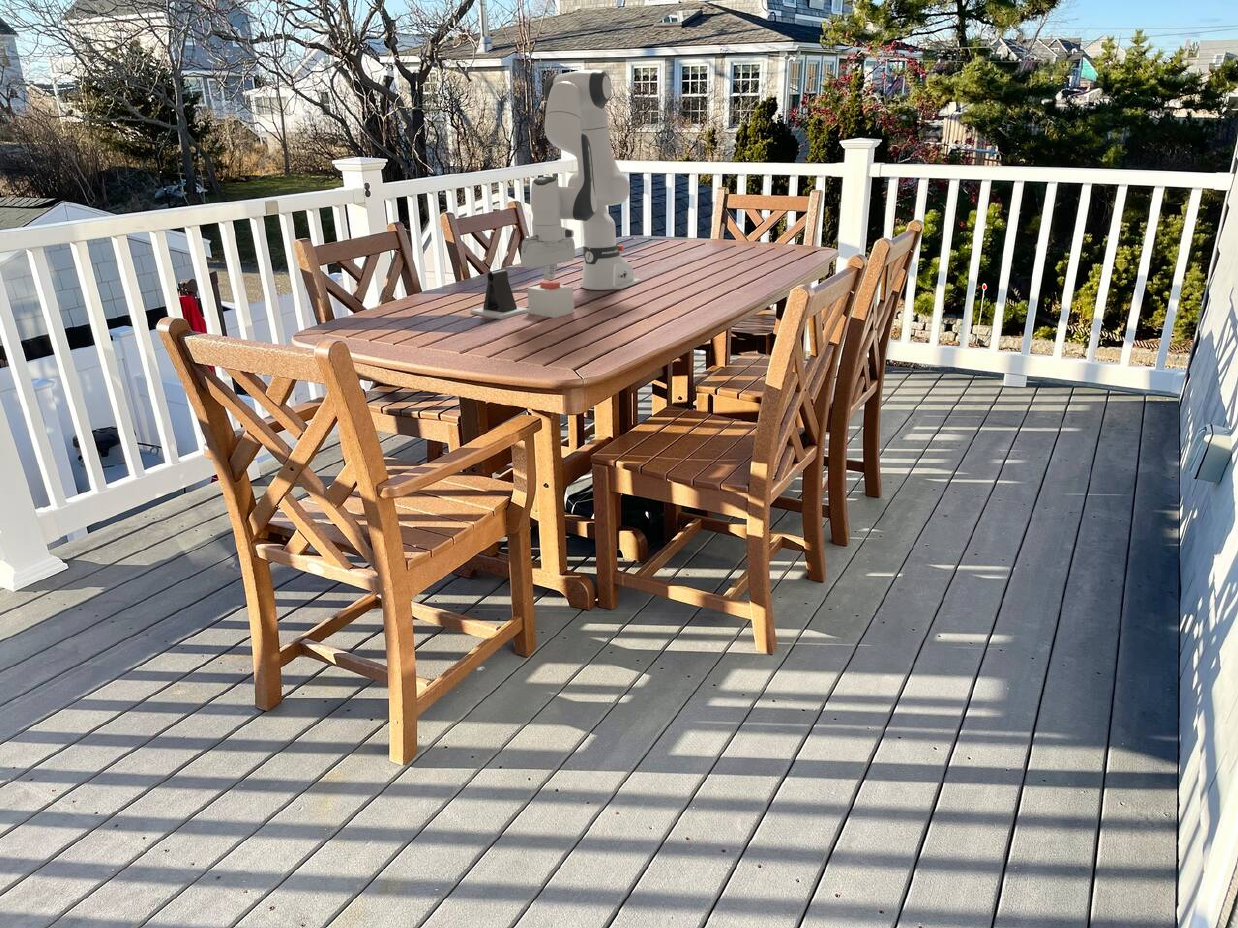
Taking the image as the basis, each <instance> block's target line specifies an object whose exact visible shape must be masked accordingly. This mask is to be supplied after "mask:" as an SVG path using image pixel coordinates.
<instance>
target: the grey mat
mask: <svg viewBox="0 0 1238 928" xmlns="http://www.w3.org/2000/svg"><path fill="white" fill-rule="evenodd" d="M483 307H484V306H481V307H478V308H474V309H473V308H472V309H470V314H473V315H478V316H482V317H487V318H494V319H498V320H503V319H507V318H511V317H514V316H518V315H522V314H523V315H524V314H525V313H526V314H527V313H529V307H528V308H527V307H522V306H517V309H515V310H511V311H507V312H504V313H502V312H496V311H490V310H484V309H483Z"/></svg>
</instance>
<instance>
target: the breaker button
mask: <svg viewBox="0 0 1238 928" xmlns="http://www.w3.org/2000/svg"><path fill="white" fill-rule="evenodd" d="M539 285H540V288H545V289H551V290H553V289H557V288H560V285H561V282H560V281H559V282H558V281H552V280H544V281H541V282H540V284H539Z"/></svg>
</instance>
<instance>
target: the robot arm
mask: <svg viewBox="0 0 1238 928" xmlns="http://www.w3.org/2000/svg"><path fill="white" fill-rule="evenodd" d="M543 96H544V101H545V102H546V106H545V107H546V108H545V113H544V115H545V116H544V135H545V136H546V139H547V140H548V142H549V143H550V144H552V146H553V147H555V148H557V149H558V150H561V151H562V152H566V153H567V154H571V155H573V156H574V157H575V158H576V161H577V172H574V173H573V174H572V175H571V176H570V177H569V178H568V181H567V186H559V184H558V183H559V182H558V180H557V178H556V177H554V176H541V177H537V178H535V179H534V180H532V182H531V187H530V190H531V191H530V210H531V213H532V221H531V228H532V229H531V230H532V231H531V232H532V236H526V237H525V238H524V239H523V240H522V241H521V248H520V249H521V250H520V253H521V254H520V266H521V267H522V268H523V269H527V270H532V269H538V268H540V270H541V272H542V274H543V280H544V281H552V280H555V273H556V271H557V268H558V264H563V263H567V262H572V261H574V259H575V257H576V248H575V247H576V244H575V239H574V238H573V237H574V236H575V233H574V230H573V229H570V228H566V227H562V220H575V221H581V222H582V228H583V242H584V243H583V247H582V248H583V249H582V254H583V258H584V261H583V266H582V279H581V281H580V284H581V288H583V289H587V290H595V291H597V290H598V291H599V290H600V291H601V290H603V291H604V290H623V289H625V288H628V287H632V286H633V285H636V284H639V283H640V282H641V279H640V278H637V277H635V276H634V275H635V274H634V269H633V266H632V264H631V263H629V262H628V261H627V260H626V259H625V258H623V257H622V256H621V253H620V252H624V251H625V247H624V245H622V244H621V245H620V244H618V245H617V237H616V236H617V234H616V233H617V231H616V222H615V220H614V219H613V218H612V216H611V215H610V213H609V212H608V209H607V206H608V207H609V206H610V207H611V206H617V205H620V204H624V203H625V202H626V201H627V199H628V198H629V196H630V191H631V186H630V183H629V180H628V178H627V177H626V176H625V175H624V174H623V173H622V172H621V170H620V168H619V166H618V165H617V162H616V159H615V157H614V154H613V151H612V144H611V137H610V130H609V127H610V126H609V118H608V115H607V114H608V113H607V110H606V109H607V108H606V105H607V104H608V102H609V101H610V99H611V97H612V82H611V79H610V76H609V75H608V74H607V72H605V71H604V70H599V69H593V70H583V69H582V70H575V71H570V72H568V71H567V72H565V73H560V74H559V73H556V74H553V75H550V76H548V77H547V78H546V80H545V81H544V85H543ZM548 270H549V271H548Z"/></svg>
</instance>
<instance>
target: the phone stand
mask: <svg viewBox="0 0 1238 928" xmlns="http://www.w3.org/2000/svg"><path fill="white" fill-rule="evenodd" d="M508 276H509V274H508V271H507V269H503V268H502V269H498V270H494V271H490V272H489V271H488V273H487V275H486V277H487V285H486V291H485V296H484V301H483V302H484V303H483V306H482V307H483V309H484V310H490V311H496V312H502V313H504V312H507V311H511V310H515V309H517V307H518V306H517V304H516V301H515V297H514V294H513V291H512V287H511V285H510V282H509V277H508Z"/></svg>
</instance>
